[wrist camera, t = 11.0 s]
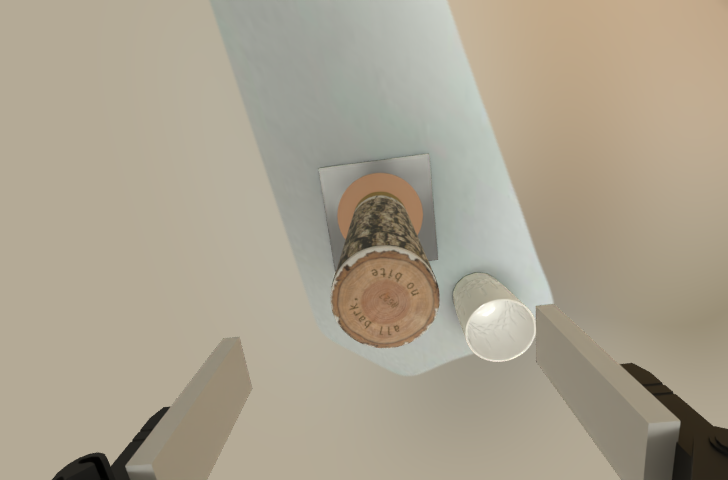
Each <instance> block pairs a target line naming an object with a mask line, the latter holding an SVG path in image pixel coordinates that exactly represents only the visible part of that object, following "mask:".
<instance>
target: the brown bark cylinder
mask: <svg viewBox="0 0 728 480" xmlns="http://www.w3.org/2000/svg"><path fill="white" fill-rule="evenodd" d="M439 300H440V297H439V288H438V284H437V281H436V278H435V275H434V273H433V271H432V269H431V266H430V264H429V262H428V259H427V257H426V255H425V252H424V250H423V248H422V245H421V243H420V241H419V239H418V236H417V234H416V232H415V229H414V227H413V225H412V222H411V220H410V218H409V215H408V213H407V211H406V209H405V207H404V205H403V203H402V202H401V201H400V200H399V199H398V198H397V197H396V196H394V195H393V194H390V193H387V192H373V193H370V194H368V195H366V196H365V197H363V198H362V199H361V200H360V201H359V203H358V204H357V206H356V208H355V211H354V214H353V217H352V220H351V223H350V227H349V230H348V233H347V237H346V240H345V243H344V247H343V250H342V253H341V257H340V260H339V263H338V267H337V270H336V273H335V277H334V280H333V284H332V289H331V307H332V311H333V314H334V317H335V319H336V321H337V322H338V324H339V326H340V327H341V328H342V329H343V330H344V331H345V333H347V334H348V335H349V336H350V337H352V338H353V339H354V340H356V341H358V342H360V343H362V344H365V345H368V346H371V347H377V348H393V347H399V346H402V345H405V344H408V343H410V342H412V341H414V340H416V339H417V338H419V337H420V336H421V335H422V334H423V333H425V332H426V331H427V329H428V328H429V327H430V326H431V324H432V323H433V321H434V319H435V317H436V315H437V312H438V308H439Z"/></svg>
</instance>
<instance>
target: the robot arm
mask: <svg viewBox="0 0 728 480" xmlns="http://www.w3.org/2000/svg"><path fill="white" fill-rule="evenodd" d="M536 362H537V363H538V365H539V366H540V368H541V369H542V370H543V372H544V373H545V375H546V376H547V377H548V379H549V380H550V381H551V383H552V384H553V386H554V387H555V388H556V389H557V391H558V393H559V394H560V395H561V397H562V398H563V400H564V401H565V402H566V404H567V405H568V406H569V408H570V409H571V411H572V412H573V413H574V415H575V416H576V417H577V419H578V420H579V422H580V423H581V425H582V426H583V427H584V429H585V430H586V432H587V433H588V434H589V436H590V437H591V438H592V440H593V441H594V443H595V444H596V445H597V447H598V448H599V450H600V451H601V452H602V454H603V455H604V457H605V458H606V459H607V461H608V462H609V463H610V465H611V466H612V467H613V469H614V470H615V472H616V473H617V475H618V476H619V477H620V479H621V480H728V429H725V428H720V427H716V426H713V425H711V424H710V423H709V422H708V421H707V420H705V419H704V418H703V417H702V416H701V415H700V414H698V413H697V412H696V411H695V410H694V409H692V408H691V407H690V406H689V405H688V404H687V403H685V402H684V401H683V400H682V399H681V398H680V397H678V396H677V395H676V394H673V391H671V390H670V389H669V388H668V387H667V386H665V385H663V384H662V382H660V380H658V379H657V378H656V377H655V376H654V375H653V374H651V373H650V372H649V371H646V370H645V369H643V368H641V367H639V366H637V365H635V364H633V363H627V364H618V363H617V362H616V361H615V360H614V359H613V358H612V357H611V356H610V355H609V354H608V353H606V352H605V351H604V350H603V349H602V348H601V347H600V346H599V345H598V344H597V343H596V342H595V341H594V340H592V339H591V338H590V337H589V336H588V335H587V334H586V333H585V332H584V331H583V330H581V328H579V327H578V326H577V325H576V324H575V323H574V322H573V321H572V320H571V319H570V318H569V317H568V316H567V315H565V314H564V313H563V312H562V311H561V310H560V309H559V308H558V307H557V306H556V305H555V304H549V305H540V306H536ZM251 390H252V385H251V381H250V377H249V373H248V369H247V365H246V361H245V357H244V353H243V349H242V345H241V341H240V337H233V338H223V339H222V341H221V342H220V343H219V345H218V346H217V347H216V348H215V350H214V351H213V352H212V354H211V355H210V356H209V357H208V359H207V360H206V361H205V363H204V364H203V365H202V367H201V368H200V369H199V371H198V372H197V373H196V374H195V376H194V377H193V378H192V380H191V381H190V382H189V384H188V385H187V386H186V387H185V389H184V390H183V391H182V393H181V394H180V395H179V397H178V398H177V399H176V400H175V402H174V403H173V404H172V406H171V407H163V408H162V409H161V410H160V411H158V412H157V413H156V414H155V415H153V416H152V417H151V418H150V419H149V420H148V421H147V423H146V424H145V425H144V426H143V427H142V429H141V430H140V432H139V433H138V434H137V435H136V436H135V437H134V439H133V441H132V442H130V443H129V445H128V446H127V447H126V448H125V450H124V451H123V452H122V454H121V455H120V456H119V457H118V458H117V460H116V461H115V462H114V463H113V465H112V466H111V467H110V464H109V462H108V459H107V457H106V456H105V454H103V453H92V454H88V455H86V456H83V457H80V458H78V459H76V460H75V461H73V462H71V463H70V464H68V465H67V466H65V467H64V468H63V469H62V470H61V471H59V472H58V473H57V474H56V476H55V477H54V478H53V479H52V480H207V479H208V477H209V475H210V473H211V471H212V469H213V467H214V465H215V463H216V461H217V459H218V457H219V455H220V453H221V451H222V449H223V447H224V444H225V442H226V441H227V439H228V437H229V435H230V432H231V430H232V428H233V426H234V424H235V422H236V420H237V418H238V416H239V414H240V412H241V410H242V408H243V406H244V404H245V402H246V400H247V398H248V396H249V394H250V392H251Z"/></svg>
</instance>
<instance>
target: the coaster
mask: <svg viewBox="0 0 728 480" xmlns="http://www.w3.org/2000/svg"><path fill="white" fill-rule="evenodd" d="M318 170H319V176H320V182H321V188H322V194H323V200H324V206H325V212H326V218H327V224H328V231H329V237H330V243H331V249H332V255H333V261H334V267H335V272H336V270H337V267H338V263H339V260H340V257H341V253H342V250H343V247H344V243H345V240H346V237H347V233H348V230H349V227H350V223H351V220H352V217H353V214H354V211H355V208H356V206H357V204H358V203H359V201H360V200H361V199H362V198H363V197H365V196H366V195H368V194H370V193H373V192H387V193H390V194H393V195H394V196H396V197H397V198H398V199H399V200H400V201H401V202H402V203H403V205H404V207H405V209H406V211H407V213H408V215H409V218H410V220H411V222H412V225H413V227H414V229H415V232H416V234H417V236H418V239H419V241H420V243H421V245H422V248H423V250H424V252H425V255H426V257H427V259H428V261H432V260H438V253H437V241H436V229H435V217H434V205H433V193H432V181H431V169H430V157H429V153H427V154H420V155H412V156H405V157H398V158H390V159H383V160H375V161H368V162H360V163H353V164H346V165H338V166H331V167H323V168H318Z"/></svg>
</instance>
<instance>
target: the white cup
mask: <svg viewBox="0 0 728 480" xmlns="http://www.w3.org/2000/svg"><path fill="white" fill-rule="evenodd" d="M453 301H454V306H455V309H456V313H457V316H458V319H459V322H460V325H461V327H462V330H463V333H464V336H465V338H466V341H467V344H468V346H469V347H470V349H471V350H472V351H473V352H474V353H475V354H476V355H477V356H479V357H481V358H483V359H485V360H488V361H494V362H501V361H508V360H511V359H514V358H516V357H518V356H520V355H521V354H522V353H524V352H525V351H526V350H527V349H528V348H529V347H530V345H531V344H532V342H533V340H534V338H535V335H536V321H535V318H534V316H533V314H532V312H531V311H530V310H529V309H528V308H527V307H526V306H525V305H524V304H523V303H522V302H521V301H520V300H519V299H518V298H517V297H516V296H515V295H514V294H513V293H511V292H510V291H509V290H508V289H507V288H506V287H505V286H504V285H502V284H501V283H500V282H498V281H497V280H496V279H495V278H493V277H492V276H490V275H488V274H486V273H473V274H470V275H467V276H464V277H463V278H462V279H461V280H460V281H459V282H458V283H457V284H456V287H455V289H454V292H453Z"/></svg>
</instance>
